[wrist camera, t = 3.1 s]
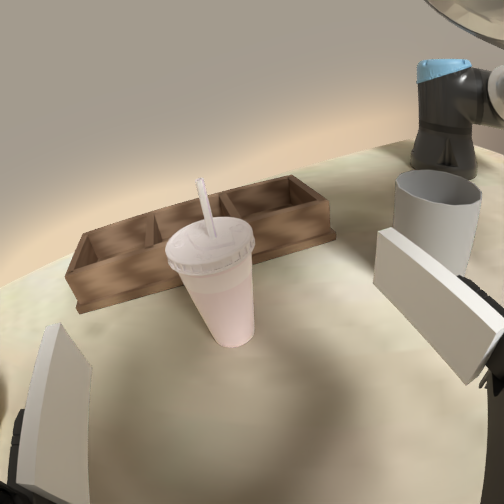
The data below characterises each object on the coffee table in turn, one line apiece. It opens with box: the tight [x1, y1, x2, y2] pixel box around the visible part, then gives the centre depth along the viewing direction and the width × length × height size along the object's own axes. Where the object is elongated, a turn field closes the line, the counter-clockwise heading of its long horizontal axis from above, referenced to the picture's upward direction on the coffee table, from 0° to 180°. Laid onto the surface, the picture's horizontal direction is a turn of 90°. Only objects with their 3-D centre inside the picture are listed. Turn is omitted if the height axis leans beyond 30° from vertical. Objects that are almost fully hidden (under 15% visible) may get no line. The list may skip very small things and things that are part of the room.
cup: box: [393, 170, 482, 277], centre depth 25 cm, size 8×8×10 cm
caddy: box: [65, 175, 336, 314], centre depth 37 cm, size 32×12×5 cm, turn 106°
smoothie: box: [165, 178, 255, 348], centre depth 23 cm, size 6×6×14 cm
